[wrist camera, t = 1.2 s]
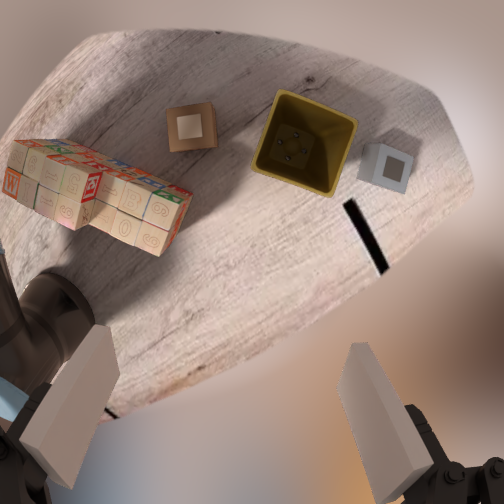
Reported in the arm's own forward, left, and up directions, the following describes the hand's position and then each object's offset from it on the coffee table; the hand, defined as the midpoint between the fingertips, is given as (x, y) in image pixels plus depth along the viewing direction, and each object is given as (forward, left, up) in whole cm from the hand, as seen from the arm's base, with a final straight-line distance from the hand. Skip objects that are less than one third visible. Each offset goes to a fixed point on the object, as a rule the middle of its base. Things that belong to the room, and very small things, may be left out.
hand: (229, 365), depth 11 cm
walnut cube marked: (-6, +11, -28) cm, 31 cm away
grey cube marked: (+18, +9, -28) cm, 34 cm away
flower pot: (+6, +10, -28) cm, 30 cm away
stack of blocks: (-17, +4, -28) cm, 33 cm away
